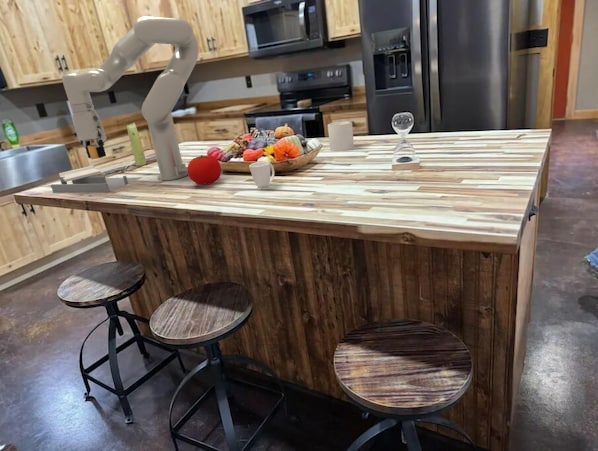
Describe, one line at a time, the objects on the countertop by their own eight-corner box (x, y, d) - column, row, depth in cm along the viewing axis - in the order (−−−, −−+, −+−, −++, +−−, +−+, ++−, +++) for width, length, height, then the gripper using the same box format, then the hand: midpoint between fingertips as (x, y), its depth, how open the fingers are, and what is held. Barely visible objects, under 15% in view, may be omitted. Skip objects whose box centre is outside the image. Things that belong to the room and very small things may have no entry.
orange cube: (106, 155, 163) (102, 143, 161) (97, 158, 159) (93, 146, 158) (97, 156, 165) (93, 143, 163) (88, 159, 161) (84, 146, 159)
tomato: (228, 178, 158) (222, 150, 154) (213, 188, 147) (207, 158, 143) (201, 179, 161) (195, 152, 157) (185, 189, 150) (178, 160, 147)
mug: (325, 147, 187) (322, 123, 183) (346, 143, 189) (344, 119, 185) (334, 152, 175) (331, 126, 171) (357, 148, 177) (355, 122, 173)
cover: (97, 177, 187) (93, 165, 185) (103, 180, 179) (99, 168, 177) (60, 186, 179) (56, 174, 177) (65, 190, 171) (61, 177, 169)
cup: (248, 190, 139) (244, 166, 136) (267, 181, 146) (263, 158, 144) (265, 191, 135) (261, 167, 132) (283, 182, 143) (279, 159, 140)
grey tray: (143, 177, 176) (140, 169, 175) (108, 193, 160) (105, 184, 159) (90, 179, 188) (88, 171, 187) (53, 193, 171) (50, 184, 170)
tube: (148, 164, 203) (137, 123, 196) (137, 166, 200) (126, 125, 193) (145, 162, 207) (134, 122, 200) (135, 165, 205) (123, 124, 198)
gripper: (107, 105, 155) (121, 154, 162) (74, 108, 162) (89, 155, 169) (91, 108, 149) (106, 158, 156) (57, 111, 155) (73, 160, 162)
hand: (97, 156), depth 162 cm, fingers closed on orange cube, 4 cm apart
